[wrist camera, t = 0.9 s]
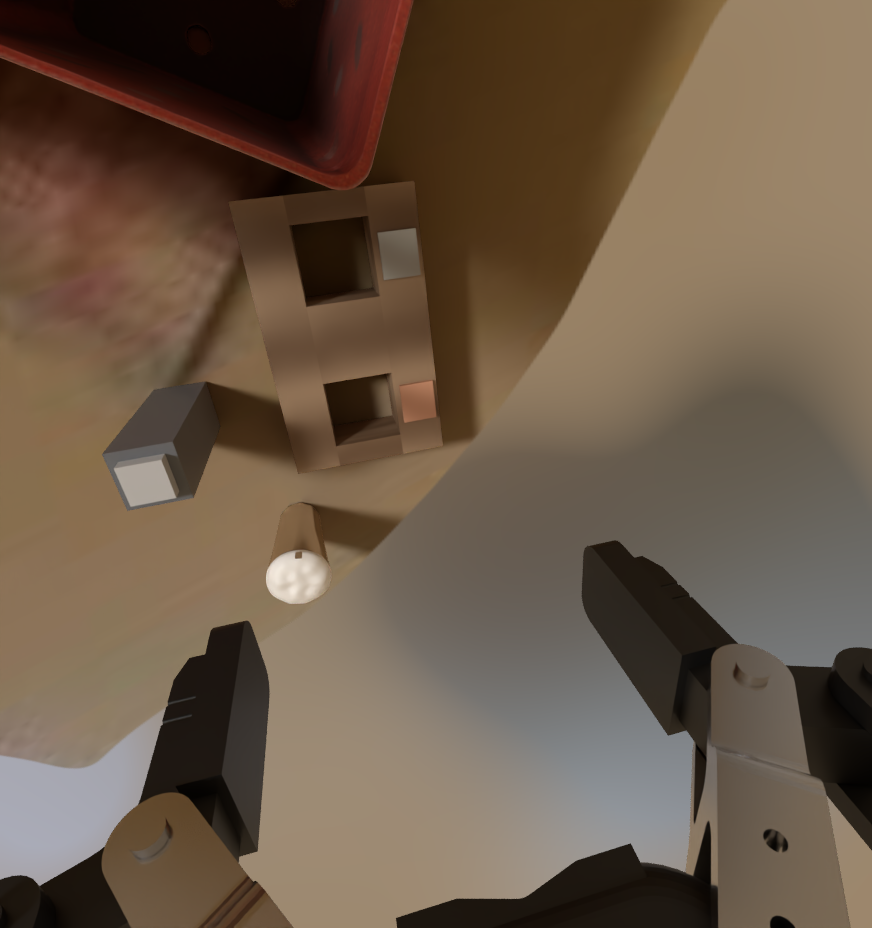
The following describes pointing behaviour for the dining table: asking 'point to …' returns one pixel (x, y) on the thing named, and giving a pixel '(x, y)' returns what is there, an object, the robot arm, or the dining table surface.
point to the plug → (164, 446)
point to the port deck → (344, 323)
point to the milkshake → (299, 557)
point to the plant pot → (231, 70)
